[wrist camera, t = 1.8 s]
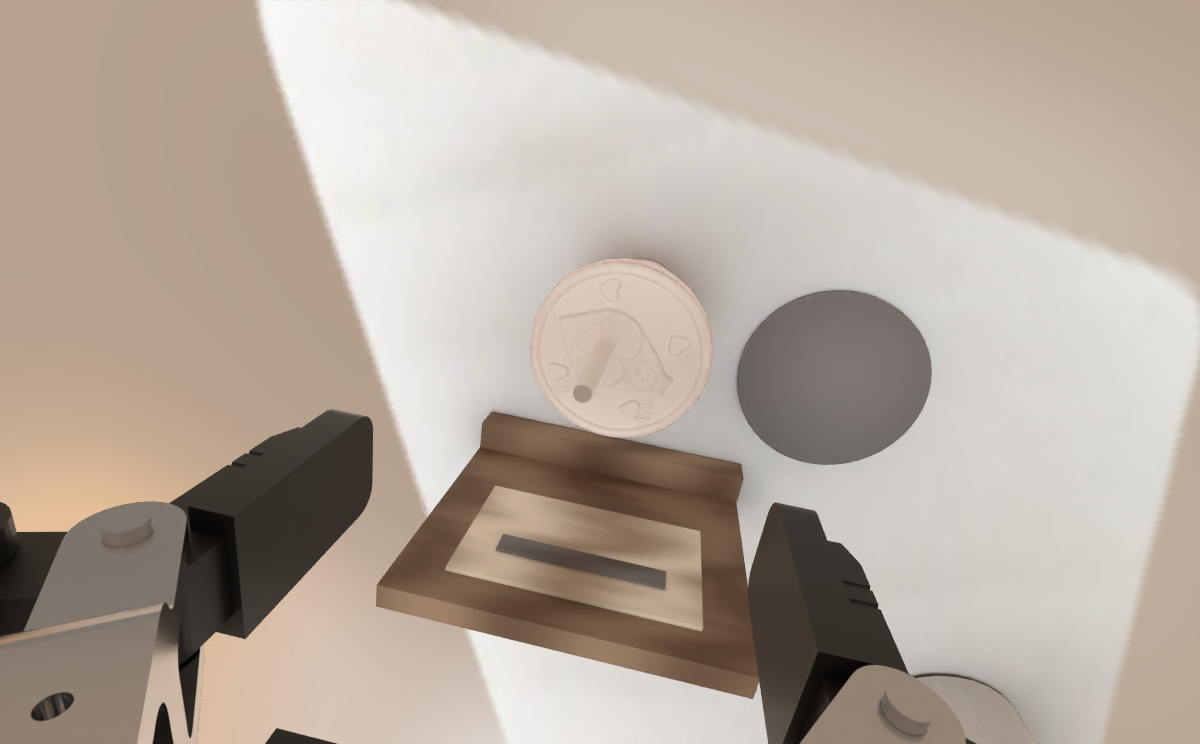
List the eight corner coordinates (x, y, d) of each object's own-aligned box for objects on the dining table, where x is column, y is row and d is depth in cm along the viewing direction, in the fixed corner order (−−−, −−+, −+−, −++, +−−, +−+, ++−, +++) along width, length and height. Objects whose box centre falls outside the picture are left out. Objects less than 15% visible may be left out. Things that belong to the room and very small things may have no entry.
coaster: (967, 382, 28) (972, 386, 27) (817, 490, 31) (818, 495, 30) (844, 250, 26) (847, 252, 26) (700, 376, 29) (700, 380, 29)
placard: (740, 464, 31) (771, 645, 19) (723, 525, 32) (742, 728, 21) (491, 411, 32) (377, 551, 20) (485, 473, 33) (375, 637, 22)
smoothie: (622, 204, 27) (559, 237, 14) (733, 279, 28) (771, 379, 14) (555, 312, 29) (447, 427, 16) (658, 380, 30) (633, 545, 17)
